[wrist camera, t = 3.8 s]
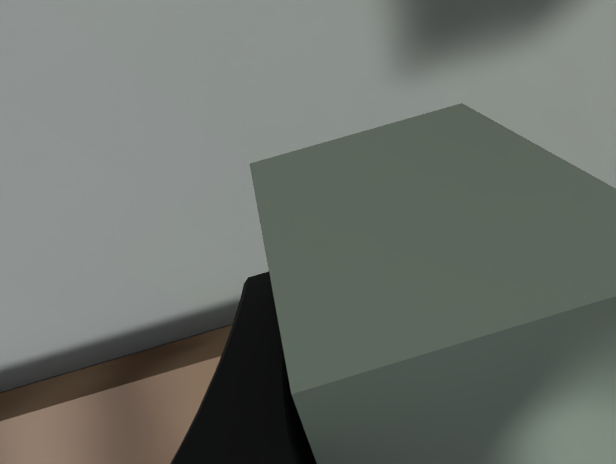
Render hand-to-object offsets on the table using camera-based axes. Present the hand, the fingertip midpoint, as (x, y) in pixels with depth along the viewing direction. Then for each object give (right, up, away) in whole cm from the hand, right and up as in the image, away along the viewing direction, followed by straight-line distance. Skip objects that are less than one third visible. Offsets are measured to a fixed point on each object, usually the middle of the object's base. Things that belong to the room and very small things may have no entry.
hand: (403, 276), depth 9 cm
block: (0, +1, +2) cm, 2 cm away
